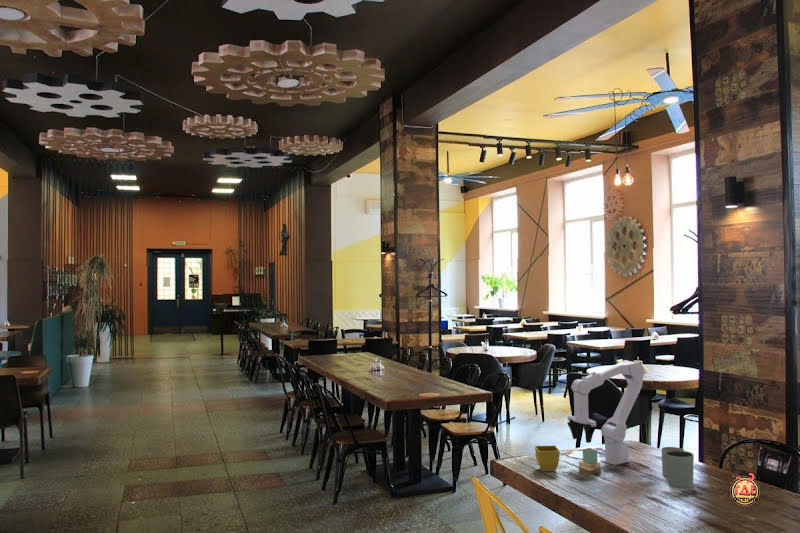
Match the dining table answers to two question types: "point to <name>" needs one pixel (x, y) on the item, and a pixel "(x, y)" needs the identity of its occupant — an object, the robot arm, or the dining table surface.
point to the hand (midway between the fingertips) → (581, 440)
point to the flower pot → (547, 457)
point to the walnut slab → (590, 471)
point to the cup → (664, 468)
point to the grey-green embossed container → (680, 468)
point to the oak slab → (589, 465)
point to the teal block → (590, 455)
